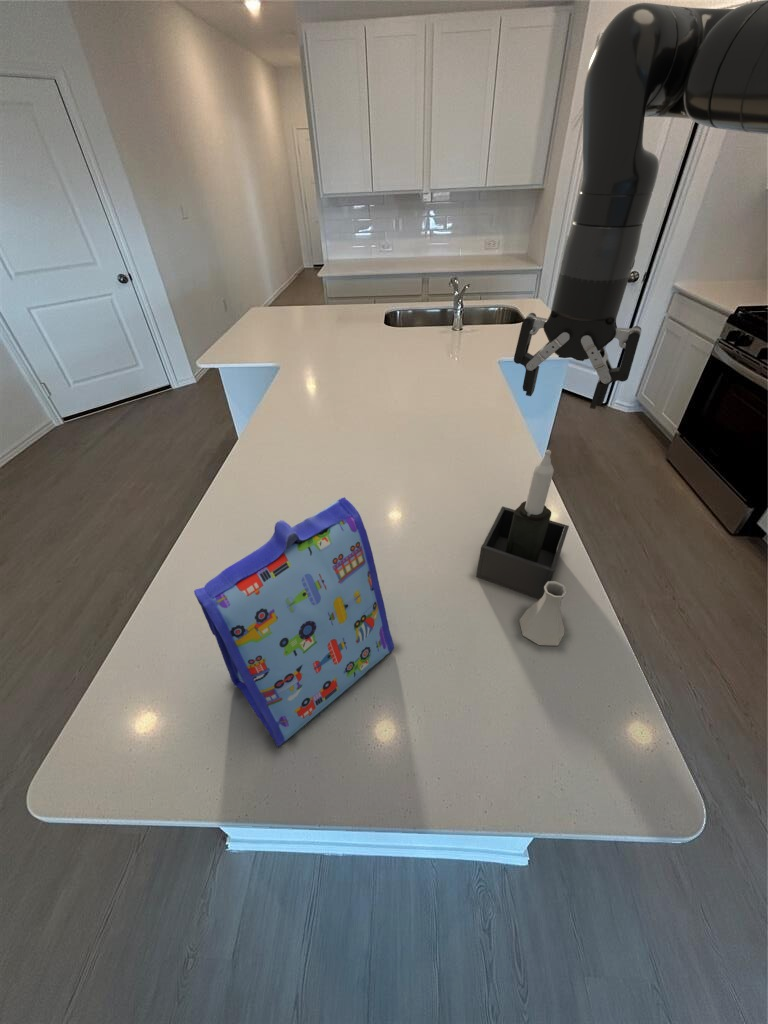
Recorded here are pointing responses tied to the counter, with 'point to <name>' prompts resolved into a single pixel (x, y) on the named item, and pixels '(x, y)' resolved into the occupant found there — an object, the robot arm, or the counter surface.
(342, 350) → the counter surface
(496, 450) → the counter surface
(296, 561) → the lunch bag
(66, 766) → the counter surface
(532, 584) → the bin
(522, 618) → the flask
